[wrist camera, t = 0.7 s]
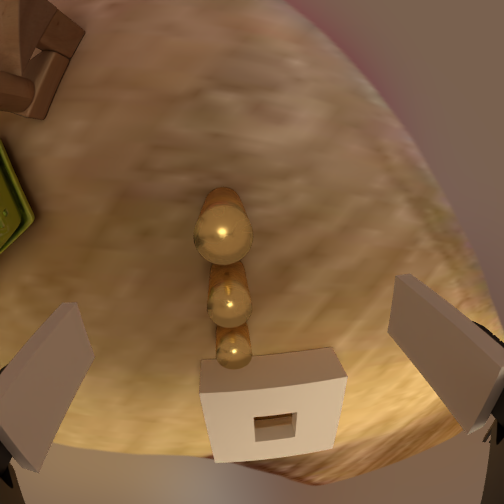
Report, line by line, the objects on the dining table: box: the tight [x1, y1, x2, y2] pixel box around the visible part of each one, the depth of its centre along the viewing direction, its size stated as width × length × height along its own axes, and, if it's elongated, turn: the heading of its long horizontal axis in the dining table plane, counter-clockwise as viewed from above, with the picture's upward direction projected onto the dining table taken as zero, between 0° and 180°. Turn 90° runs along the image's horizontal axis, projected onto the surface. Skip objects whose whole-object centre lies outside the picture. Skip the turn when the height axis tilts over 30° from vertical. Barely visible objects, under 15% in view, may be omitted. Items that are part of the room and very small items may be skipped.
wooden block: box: [0, 0, 85, 120], centre depth 15 cm, size 4×11×18 cm, turn 155°
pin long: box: [194, 187, 253, 265], centre depth 24 cm, size 4×4×12 cm
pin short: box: [216, 322, 252, 370], centre depth 32 cm, size 4×4×5 cm
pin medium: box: [207, 261, 252, 328], centre depth 28 cm, size 4×4×8 cm
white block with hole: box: [199, 347, 348, 463], centre depth 35 cm, size 16×14×6 cm
